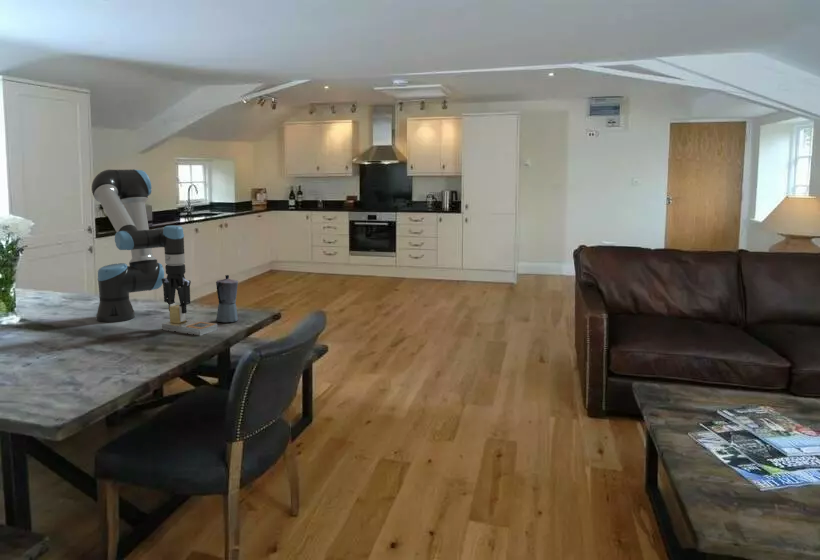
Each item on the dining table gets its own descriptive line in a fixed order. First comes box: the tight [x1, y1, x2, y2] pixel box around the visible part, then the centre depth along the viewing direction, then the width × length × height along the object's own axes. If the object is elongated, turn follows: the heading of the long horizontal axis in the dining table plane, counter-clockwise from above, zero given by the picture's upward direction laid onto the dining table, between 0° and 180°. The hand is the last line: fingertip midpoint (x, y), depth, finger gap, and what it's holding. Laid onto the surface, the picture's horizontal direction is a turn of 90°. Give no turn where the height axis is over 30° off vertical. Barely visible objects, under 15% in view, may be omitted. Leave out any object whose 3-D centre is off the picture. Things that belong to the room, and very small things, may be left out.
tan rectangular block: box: [168, 304, 186, 324], centre depth 256 cm, size 4×4×9 cm
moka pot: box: [215, 274, 239, 323], centre depth 267 cm, size 10×15×20 cm, turn 174°
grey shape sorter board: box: [161, 318, 218, 336], centre depth 254 cm, size 20×10×3 cm, turn 66°
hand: (178, 320), depth 256 cm, fingers closed on tan rectangular block, 4 cm apart
